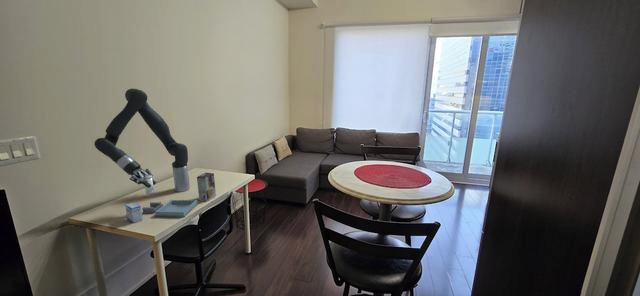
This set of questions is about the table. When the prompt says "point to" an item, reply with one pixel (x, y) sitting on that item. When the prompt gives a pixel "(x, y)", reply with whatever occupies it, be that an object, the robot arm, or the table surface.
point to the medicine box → (134, 212)
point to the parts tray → (176, 208)
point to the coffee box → (206, 186)
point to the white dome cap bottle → (150, 181)
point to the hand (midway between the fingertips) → (152, 185)
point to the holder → (152, 207)
